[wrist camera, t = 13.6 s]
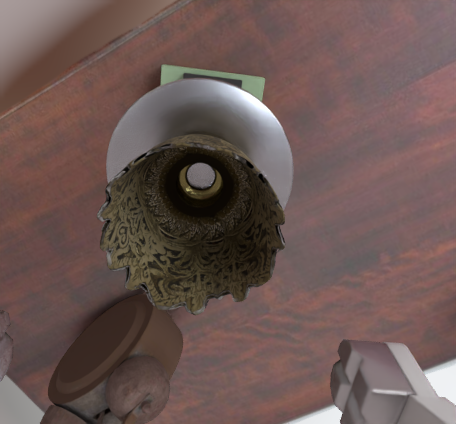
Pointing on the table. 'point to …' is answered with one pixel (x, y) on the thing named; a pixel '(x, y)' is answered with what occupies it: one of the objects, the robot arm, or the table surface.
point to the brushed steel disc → (204, 129)
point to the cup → (191, 224)
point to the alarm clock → (117, 367)
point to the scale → (243, 81)
